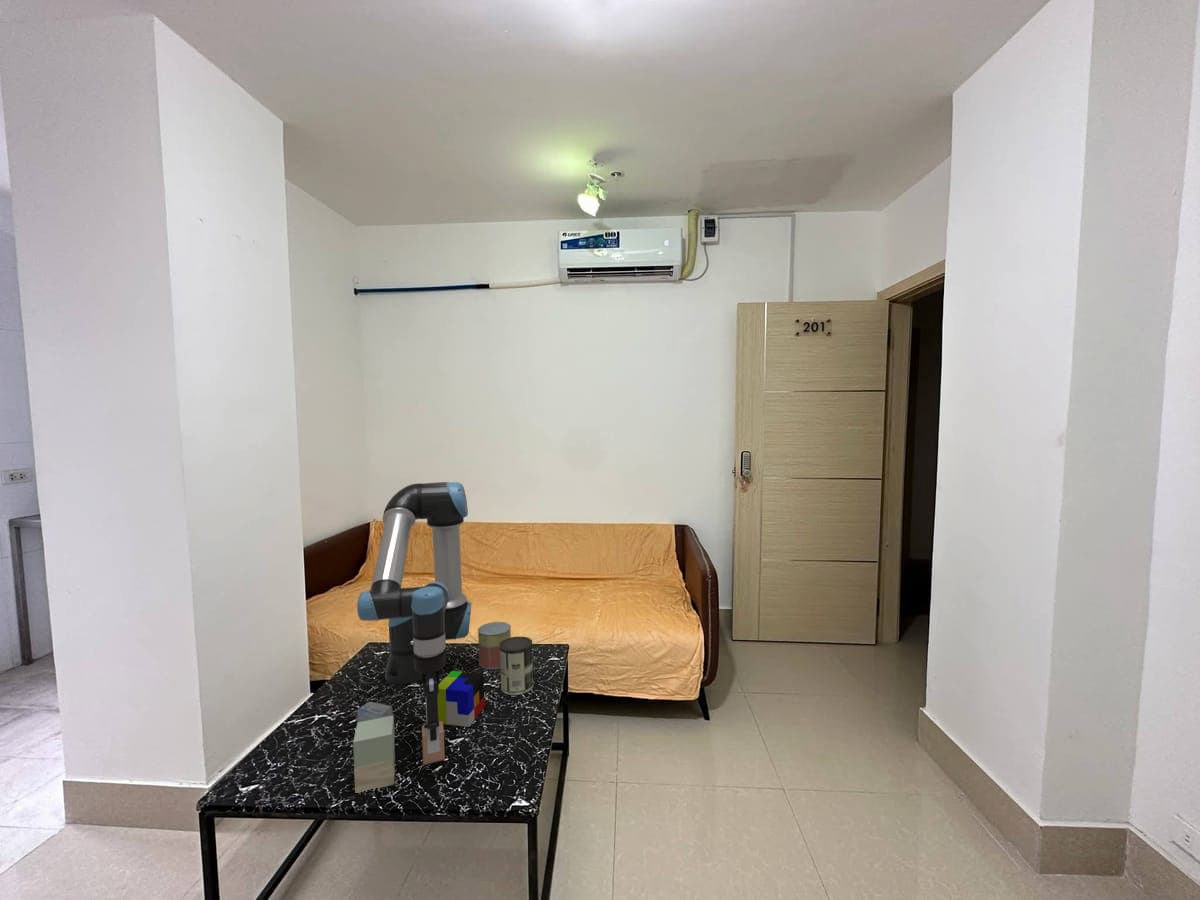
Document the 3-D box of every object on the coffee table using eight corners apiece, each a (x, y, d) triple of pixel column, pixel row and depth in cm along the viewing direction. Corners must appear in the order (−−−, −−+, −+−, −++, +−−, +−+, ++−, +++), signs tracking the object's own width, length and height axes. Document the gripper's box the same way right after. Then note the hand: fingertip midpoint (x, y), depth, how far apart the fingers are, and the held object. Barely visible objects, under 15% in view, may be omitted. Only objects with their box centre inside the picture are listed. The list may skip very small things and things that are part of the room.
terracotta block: (423, 752, 125) (421, 725, 124) (443, 747, 126) (442, 721, 126) (423, 764, 120) (422, 737, 120) (444, 759, 122) (443, 732, 122)
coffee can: (524, 675, 163) (523, 633, 162) (539, 688, 154) (537, 644, 154) (495, 684, 157) (494, 641, 157) (508, 699, 149) (507, 653, 148)
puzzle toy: (469, 727, 135) (467, 691, 135) (435, 723, 137) (434, 688, 137) (484, 706, 145) (483, 673, 145) (453, 703, 147) (452, 670, 147)
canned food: (507, 651, 181) (506, 619, 180) (515, 664, 170) (514, 630, 170) (476, 658, 176) (474, 625, 175) (482, 672, 166) (481, 637, 165)
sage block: (358, 746, 118) (357, 722, 118) (394, 738, 121) (393, 715, 121) (354, 768, 111) (353, 742, 110) (392, 759, 113) (391, 734, 113)
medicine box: (394, 737, 131) (393, 705, 131) (381, 747, 127) (380, 714, 127) (371, 731, 134) (369, 700, 134) (358, 741, 130) (356, 709, 129)
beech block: (359, 771, 118) (358, 747, 118) (395, 763, 121) (394, 739, 121) (355, 794, 111) (354, 768, 110) (393, 784, 114) (392, 759, 113)
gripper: (413, 635, 132) (416, 713, 133) (413, 676, 109) (416, 770, 110) (442, 631, 135) (445, 707, 136) (448, 670, 112) (451, 762, 112)
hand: (432, 735), depth 123 cm, fingers open, 13 cm apart
